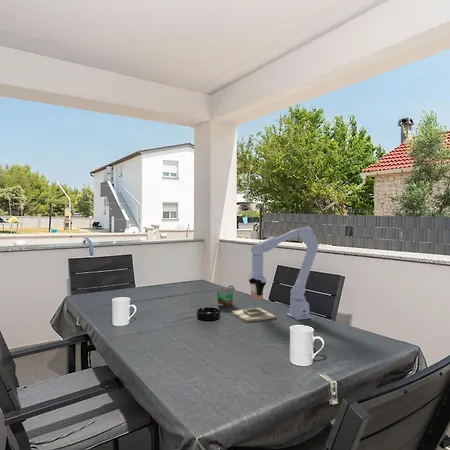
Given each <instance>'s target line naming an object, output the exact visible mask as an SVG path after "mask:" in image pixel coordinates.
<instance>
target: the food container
mask: <svg viewBox="0 0 450 450" xmlns="http://www.w3.org/2000/svg"><path fill="white" fill-rule="evenodd" d="M235 291H236V289H235V286H234V285H231V284H229V286H227V287H226V286H223V287H222V288H219V287H217V288H216V294H217V296H216V297H217V307H218V306H219V308H229V307H228V306H230V307H232V306H233V303H234V302H233V300H234V292H235Z"/></svg>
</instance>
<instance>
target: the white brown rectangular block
mask: <svg viewBox="0 0 450 450" xmlns="http://www.w3.org/2000/svg"><path fill="white" fill-rule="evenodd" d="M250 298H251V299H254V300H261V299H264V291H263V292H262V295H259V296H258V295H257V288H256V284H255V283H254V284H250Z"/></svg>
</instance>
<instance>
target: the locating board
mask: <svg viewBox="0 0 450 450" xmlns="http://www.w3.org/2000/svg"><path fill="white" fill-rule="evenodd" d="M232 313H233V314H232ZM231 314H232V315H233V316H235V315H236V318H238V317H239V319H240V320H241V319H242V320H241V321H243V322H244V321H245V322H244V323H246V322H247V323H254V322H253V321H255V322H262V321H261V320H263V321H269V320H268V319H272V320H276V319H277V315H275V314H272V313H270V312H269V311H267V310H266V309H265V310H264V309H263V308H261V307H257V308H246V309H239V310H231ZM275 318H276V319H275Z"/></svg>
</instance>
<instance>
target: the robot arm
mask: <svg viewBox="0 0 450 450" xmlns="http://www.w3.org/2000/svg"><path fill="white" fill-rule="evenodd" d="M291 239H297V240H298V239H300V240H301V241H303V242H304V244H305V245H306V248H307V249H306V252H305V255H304V257H303V261H302V263H301V267H300V270H299V272H298V275H297V278H296V281H295V284H293V287H292V288H291V289H290V298H289V299H290V300H289V301H290V302H289V305H290V306H289V313H286V314H287V315H286V316H288V315H289V316H288V317H290V316H291V318H292V317H293V318H292V319H294V318H295V319H294V320H295V321H296V320H297V321H300V320H308V318H309V319H311V316H310V303H309V302H308V301H307V299H306V296H305V294H306V284H307V280H308V278H309V275H310V272H311V269H312V266H313V264H314V260H315V258H316V256H317V255H316V254H317V252H318V249H319V242H318V240H317V236H316V232H315V230H313V228H312V227H310V226H308V225H307V226H303V227H299V228H296V229H292V230H291V231H288V232H286V233H283V234H282V235H279V236H277V237H274V236H267V239H264V240H262V241H261V240H259V241H258V242H257V243H255V244H253V245H252V246H251V248H250V252H251V256H252V257H251V273H249V275H248V277H249V278H250V279H249V278H248V281H249V285H251V284H254V283H255V284H256V288H257V295H258V296H259V295H262V292H263V293H264V288H265V286H266V284H267V278H266V277H265V276H264V253H267V252H269V251H271V250H274V249H276V248H278V245H279V244H281V243H284V242H286V241H288V240H291Z"/></svg>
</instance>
